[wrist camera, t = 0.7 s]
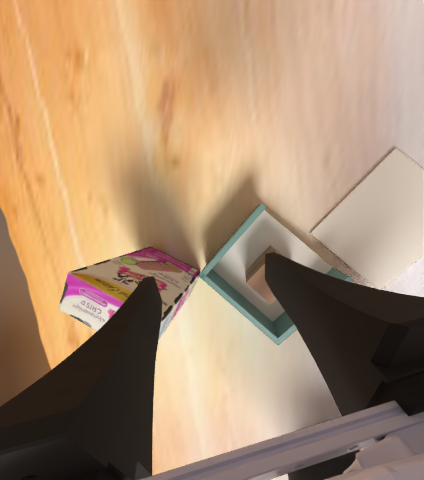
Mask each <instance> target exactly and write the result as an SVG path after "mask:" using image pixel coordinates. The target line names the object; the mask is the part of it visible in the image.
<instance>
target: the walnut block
mask: <svg viewBox="0 0 424 480" xmlns="http://www.w3.org/2000/svg"><path fill="white" fill-rule="evenodd" d="M272 252H275V253H278V254H280V253H279V252H278V251H277V250H276V249H275V248H273V247H272V246H271V245H270V246H269V247H268V248H267V249H266V250H265V251H264V252H263V253H262V254H261V255H260V257H259V258H258V259H257V260H256V261H255V262H254V263H253V264H252V265H251V266H250V267H249V268H248V269H247V270H246V271H245V277H246V284H248V285H249V286H250V287H251V288H252V289H253V290H255V291H256V292H257V293H258V294H259V295H260V296H261V297H263V298H264V299H265V300H266V301H267V302H268V303H270V304H272V303H273V302H274V301H275V300H276V298H275V296H274V295H273V293H272V292H271V290H270V288H269V286H268V284H267V282H266V280H265V254H267V253H272ZM280 255H282V254H280ZM282 256H283V255H282Z"/></svg>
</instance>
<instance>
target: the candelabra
mask: <svg viewBox="0 0 424 480" xmlns="http://www.w3.org/2000/svg"><path fill="white" fill-rule="evenodd" d="M358 452H360V450H356V451H353V452H350V453H347V454H344V455H341V456H338V457H335V458H332V459H329V460H326V461H323V462H320V463H317V464H314V465H311V466H308V467H305V468H302V469H299V470H296V471H293V472H290V473H288V477H289V480H325V479H328V478H331V477H335V476H338V475H342V474H343V472H344V471H345V470H346V469H347V468H349V467H350V466H351V465H352V463H353V462H354V461H355V459H356V453H358Z"/></svg>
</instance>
